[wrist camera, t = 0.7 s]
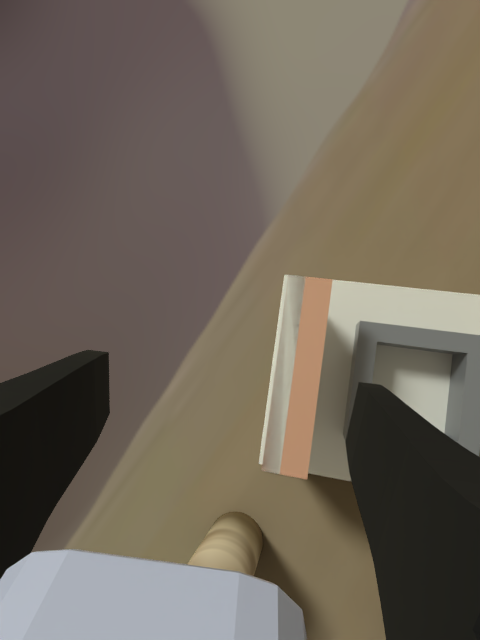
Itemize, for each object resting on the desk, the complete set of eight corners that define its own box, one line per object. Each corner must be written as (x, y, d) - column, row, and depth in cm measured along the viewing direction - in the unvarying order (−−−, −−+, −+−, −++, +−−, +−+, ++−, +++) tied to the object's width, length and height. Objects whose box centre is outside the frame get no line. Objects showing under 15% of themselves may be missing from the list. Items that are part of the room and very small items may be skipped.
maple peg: (258, 574, 31) (242, 633, 24) (206, 561, 32) (175, 615, 25) (266, 517, 31) (251, 561, 24) (214, 506, 32) (185, 545, 25)
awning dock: (461, 499, 29) (519, 553, 21) (260, 460, 32) (240, 494, 23) (481, 298, 30) (543, 272, 22) (285, 277, 33) (274, 247, 24)
